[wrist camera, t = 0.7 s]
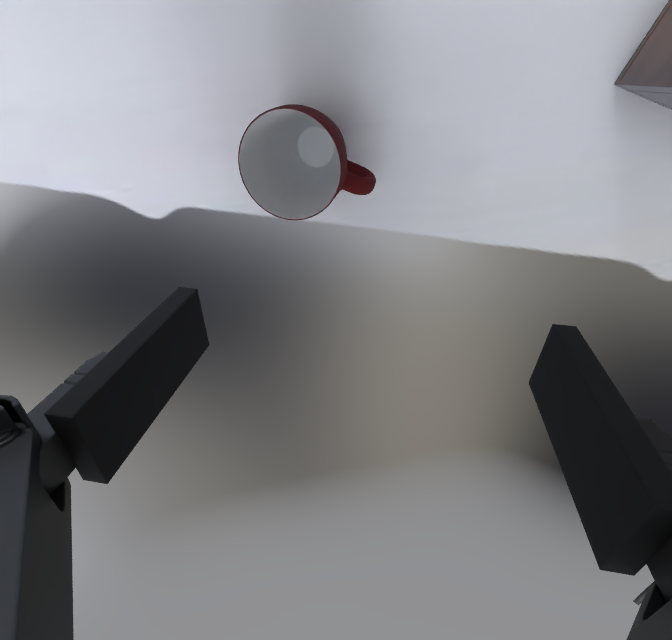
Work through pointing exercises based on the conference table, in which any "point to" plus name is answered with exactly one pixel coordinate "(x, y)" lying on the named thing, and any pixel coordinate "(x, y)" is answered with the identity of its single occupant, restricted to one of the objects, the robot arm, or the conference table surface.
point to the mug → (297, 163)
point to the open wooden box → (652, 63)
